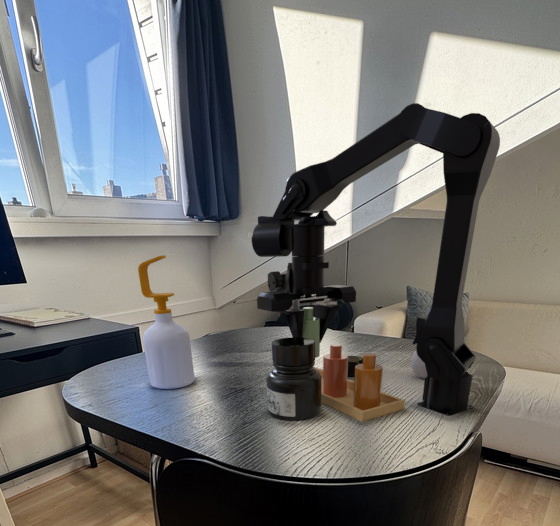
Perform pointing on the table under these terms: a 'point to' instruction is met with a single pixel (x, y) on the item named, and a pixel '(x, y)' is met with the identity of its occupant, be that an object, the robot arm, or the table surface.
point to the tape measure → (353, 364)
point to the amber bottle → (367, 383)
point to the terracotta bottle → (335, 372)
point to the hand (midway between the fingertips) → (308, 344)
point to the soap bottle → (165, 341)
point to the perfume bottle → (419, 365)
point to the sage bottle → (311, 328)
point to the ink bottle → (294, 380)
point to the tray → (346, 406)
